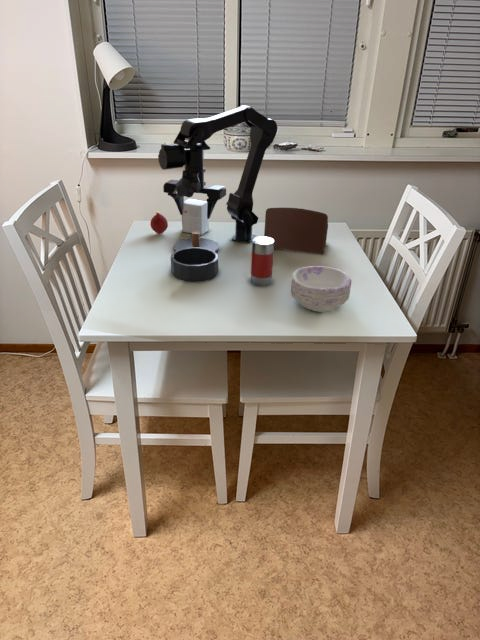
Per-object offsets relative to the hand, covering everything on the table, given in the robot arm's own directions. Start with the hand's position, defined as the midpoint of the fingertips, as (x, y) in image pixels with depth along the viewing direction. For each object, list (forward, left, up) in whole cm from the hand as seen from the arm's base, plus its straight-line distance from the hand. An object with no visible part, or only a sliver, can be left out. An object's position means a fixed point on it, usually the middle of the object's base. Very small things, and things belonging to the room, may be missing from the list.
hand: (195, 216), depth 153 cm
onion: (-7, -17, -11) cm, 22 cm away
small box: (-15, -7, -11) cm, 20 cm away
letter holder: (-16, +29, -11) cm, 35 cm away
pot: (+16, +7, -11) cm, 21 cm away
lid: (0, 0, -10) cm, 10 cm away
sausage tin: (+14, +27, -11) cm, 32 cm away
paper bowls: (+21, +45, -11) cm, 51 cm away
